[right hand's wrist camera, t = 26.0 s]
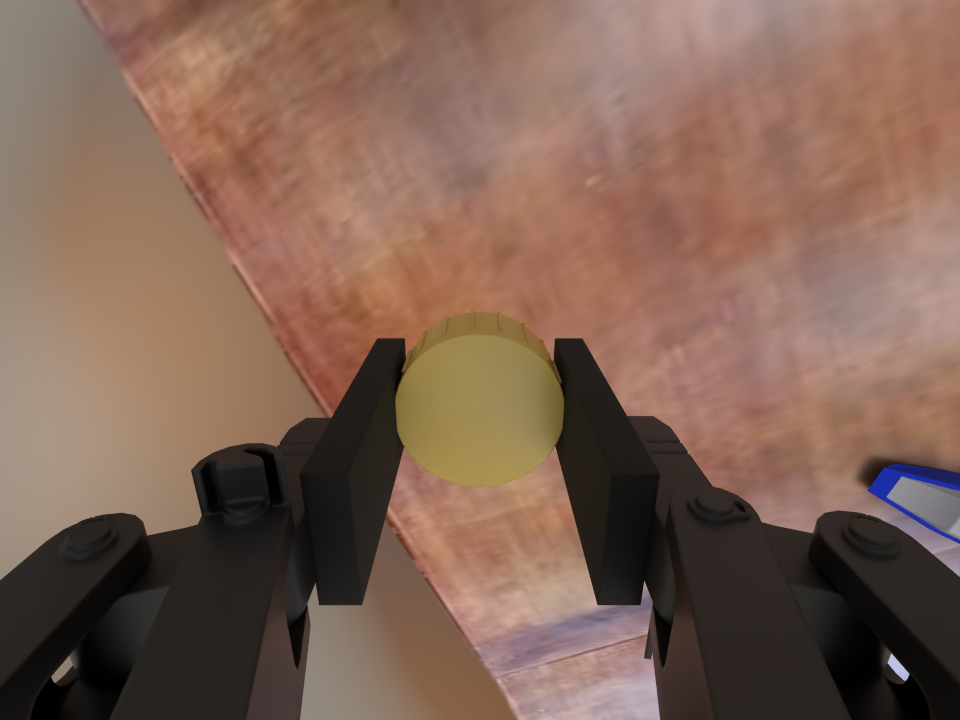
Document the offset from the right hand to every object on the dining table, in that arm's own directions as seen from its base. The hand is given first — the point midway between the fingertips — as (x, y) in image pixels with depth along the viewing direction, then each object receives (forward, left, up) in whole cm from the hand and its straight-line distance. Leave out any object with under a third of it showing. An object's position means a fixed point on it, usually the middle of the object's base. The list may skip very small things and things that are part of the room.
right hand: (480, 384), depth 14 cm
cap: (0, 0, +2) cm, 2 cm away
